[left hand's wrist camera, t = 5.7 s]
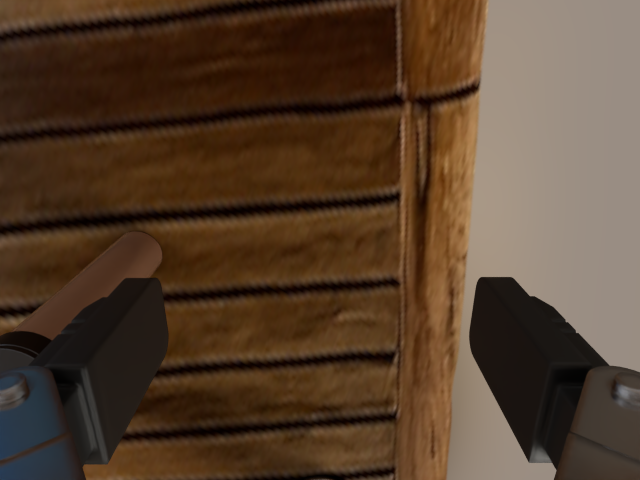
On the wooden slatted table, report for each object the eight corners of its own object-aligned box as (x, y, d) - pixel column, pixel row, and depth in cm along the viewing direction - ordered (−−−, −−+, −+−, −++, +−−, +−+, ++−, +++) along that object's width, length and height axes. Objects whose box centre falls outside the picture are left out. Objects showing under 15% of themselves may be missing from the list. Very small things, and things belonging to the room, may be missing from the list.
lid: (81, 348, 26) (65, 367, 25) (63, 408, 28) (47, 429, 26) (-4, 318, 25) (-27, 336, 24) (-18, 381, 27) (-40, 402, 25)
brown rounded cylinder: (168, 242, 42) (64, 364, 25) (154, 280, 44) (48, 420, 27) (122, 223, 41) (-17, 336, 24) (110, 263, 43) (-29, 395, 26)
